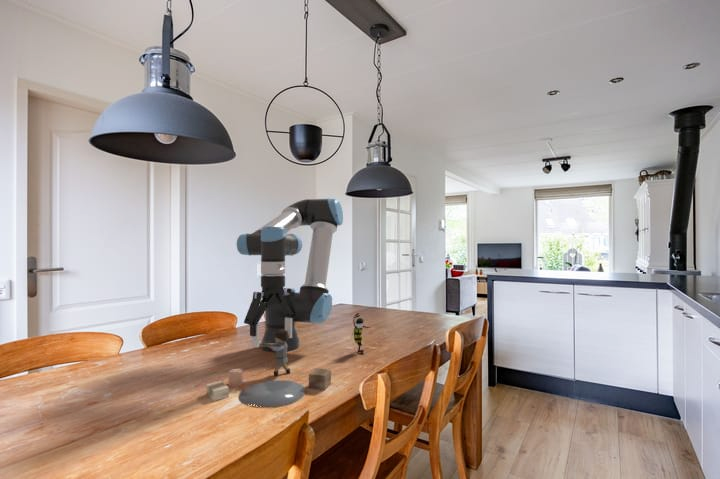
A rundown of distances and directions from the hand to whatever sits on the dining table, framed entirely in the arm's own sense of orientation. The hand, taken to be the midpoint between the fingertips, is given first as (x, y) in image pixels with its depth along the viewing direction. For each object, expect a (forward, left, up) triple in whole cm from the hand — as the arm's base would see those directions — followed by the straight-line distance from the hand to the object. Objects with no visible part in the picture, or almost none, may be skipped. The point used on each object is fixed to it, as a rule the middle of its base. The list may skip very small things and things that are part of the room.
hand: (272, 341), depth 118 cm
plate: (+11, -10, -12) cm, 18 cm away
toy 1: (0, 0, -12) cm, 12 cm away
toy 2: (+8, +37, -12) cm, 40 cm away
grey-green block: (0, -20, -12) cm, 23 cm away
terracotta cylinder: (-3, -12, -12) cm, 17 cm away
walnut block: (+18, +2, -12) cm, 21 cm away
